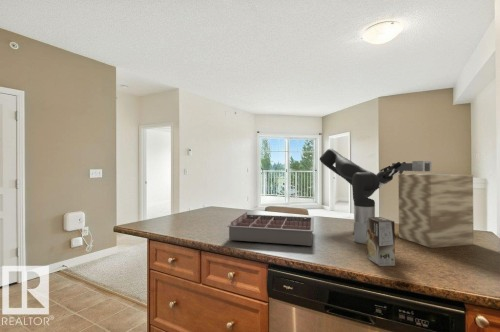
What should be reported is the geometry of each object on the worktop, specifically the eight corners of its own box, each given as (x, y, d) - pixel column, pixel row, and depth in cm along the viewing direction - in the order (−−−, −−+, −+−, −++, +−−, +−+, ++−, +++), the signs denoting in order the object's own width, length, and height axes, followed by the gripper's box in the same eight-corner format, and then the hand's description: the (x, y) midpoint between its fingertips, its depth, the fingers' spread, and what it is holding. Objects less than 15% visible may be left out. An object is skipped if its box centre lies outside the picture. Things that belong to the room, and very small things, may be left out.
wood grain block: (473, 244, 117) (472, 174, 117) (431, 247, 111) (430, 174, 112) (436, 234, 134) (436, 173, 135) (398, 237, 129) (398, 173, 129)
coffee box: (396, 265, 91) (395, 221, 91) (379, 266, 90) (379, 221, 91) (380, 257, 100) (380, 216, 100) (365, 257, 100) (365, 216, 100)
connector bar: (431, 171, 120) (431, 160, 120) (422, 171, 119) (423, 160, 119) (398, 170, 140) (398, 161, 140) (390, 170, 139) (390, 161, 139)
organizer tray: (313, 249, 110) (313, 226, 110) (226, 243, 120) (226, 222, 120) (313, 231, 141) (313, 213, 141) (244, 227, 151) (244, 210, 151)
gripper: (369, 172, 149) (388, 157, 134) (389, 172, 152) (410, 157, 137) (374, 184, 145) (394, 169, 130) (394, 183, 148) (416, 169, 134)
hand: (402, 163), depth 134 cm, fingers closed on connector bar, 3 cm apart
